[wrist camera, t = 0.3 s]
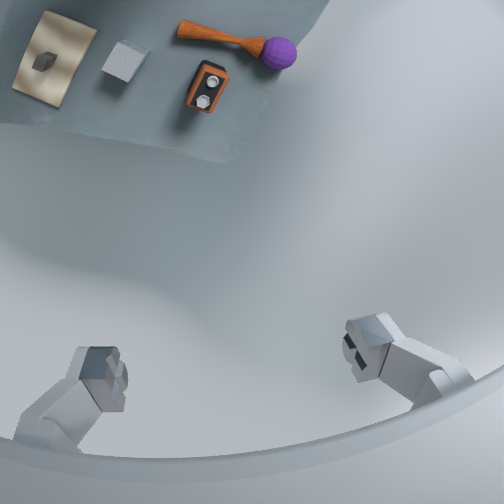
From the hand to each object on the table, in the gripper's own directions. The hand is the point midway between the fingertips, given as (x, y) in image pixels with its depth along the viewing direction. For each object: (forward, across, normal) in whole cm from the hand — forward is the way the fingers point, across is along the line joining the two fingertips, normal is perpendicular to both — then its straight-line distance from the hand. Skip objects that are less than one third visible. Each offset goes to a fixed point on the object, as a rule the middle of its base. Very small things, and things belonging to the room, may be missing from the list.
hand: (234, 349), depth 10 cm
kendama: (+47, -6, -20) cm, 51 cm away
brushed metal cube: (+47, +13, -19) cm, 52 cm away
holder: (+45, +27, -23) cm, 58 cm away
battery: (+49, 0, -13) cm, 51 cm away
